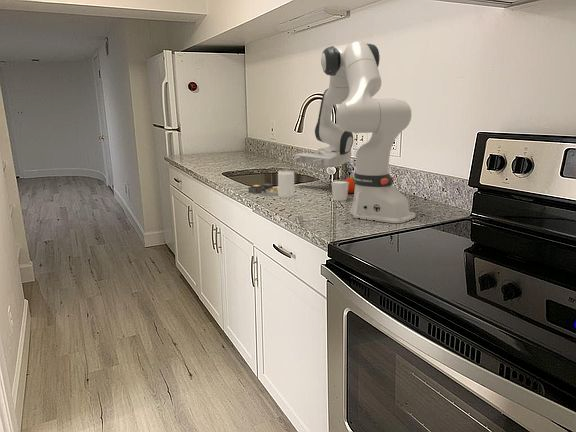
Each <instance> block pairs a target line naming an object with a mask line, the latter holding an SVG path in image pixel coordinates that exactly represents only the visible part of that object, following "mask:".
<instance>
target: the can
mask: <svg viewBox="0 0 576 432" xmlns="http://www.w3.org/2000/svg"><path fill="white" fill-rule="evenodd" d="M277 188H278V195H277V196H278V198H287V199H289V198H293V197H295V172H294V169H293V168H279V170H278V173H277Z"/></svg>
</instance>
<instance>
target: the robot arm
mask: <svg viewBox="0 0 576 432" xmlns="http://www.w3.org/2000/svg"><path fill="white" fill-rule="evenodd" d="M380 56H381V55H380V50H379V48H378V47H377V45H375V44H371V43H366V42H364V41H362V40H356V41H352V42H350V43H348V44H342V45H340V44H339V45H336V46H333V45H332V46H328V47H326V48H324V50H323V51H322V54H321V57H320V58H321V59H320V64H321V68H322V71H323V73H324V74H326V75H327V76H329V85H328V86H329V87H328V88H327V89H325V91H324V92H323V93H322V94H323V95H322V97H321V102H320V107H319V112H318V118H317V123H316V125H315V128H314V135H315V138H316V140H317V141H319V142H322V143H324V144H327V145H329V146H327V147H320V148H318V149H316V151H315V152H314V153H310V152H301V153H300V152H299V153H295V154H294V158H293V159H294V160H293V161H294V163H297V164H298V163H299V164H308V165H312V166H313V165H314V166H316V167H318V168H320V169H328V168H340V166H341V165H344V164H346V163H347V162H349V160H350V159H351V156H352V150H351V149H352V147H353V145H354V135H353V134H364V133H365V134H366V133H367V134H369V133H372V134H371V136H370V139H369V140H368V141H367V142H366V143H364V144H362V145H361V146H360V147H358V149H357V151H356V153H355V172H354V186H355V191H354V193H353V200H352V205H351V207H350V208H351V209H350V212H349V213H350V214H351V215H352V217H353V218H354V219H358V218H360V220H366V219H367V220H368V221H373V220H375V222H381V223H382V222H383V223H390V224H401V223H407V222H409V220H410V221H412V220H414V219H415V218H416V212H412V211H410V206H409V205H410V204H409V199H408V198H407V197H406V195H404V194H403V193H401V192H400V191H399V190H398V189H397V188H396V187H395V186H394V185H393V181H395V178H396V176H391V175H390V173H389V165H390V155H391V150H392V148H393V145H394V143H395V140H396V139H397V138H398V136H400V134H401V133H402V132H403V131H404V130H405V129H406V128H407V127H408V126H409V125H410V122H411V121H412V114H413V113H412V109H411V106H410V105H409V103H408V102H407V101H405V100H400V99H396V98H374V96H375V95H377V93H378V92H379V91H380V89H381V87H382V78H381V75H380V71H379V68H378V67H379V65H380V60H381V57H380ZM372 97H373V98H372ZM334 105H338V107H337V110H336V113H335V121H336V123H335V122H333V120H332V113H333V108H334ZM413 218H414V219H413ZM411 219H412V220H411ZM367 220H366V221H367ZM406 221H407V222H406Z"/></svg>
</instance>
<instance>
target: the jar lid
mask: <svg viewBox="0 0 576 432" xmlns="http://www.w3.org/2000/svg"><path fill="white" fill-rule="evenodd" d="M265 193H266V194H273V195H277V196H278V187H273V188H268V189H266V190H265Z"/></svg>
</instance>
